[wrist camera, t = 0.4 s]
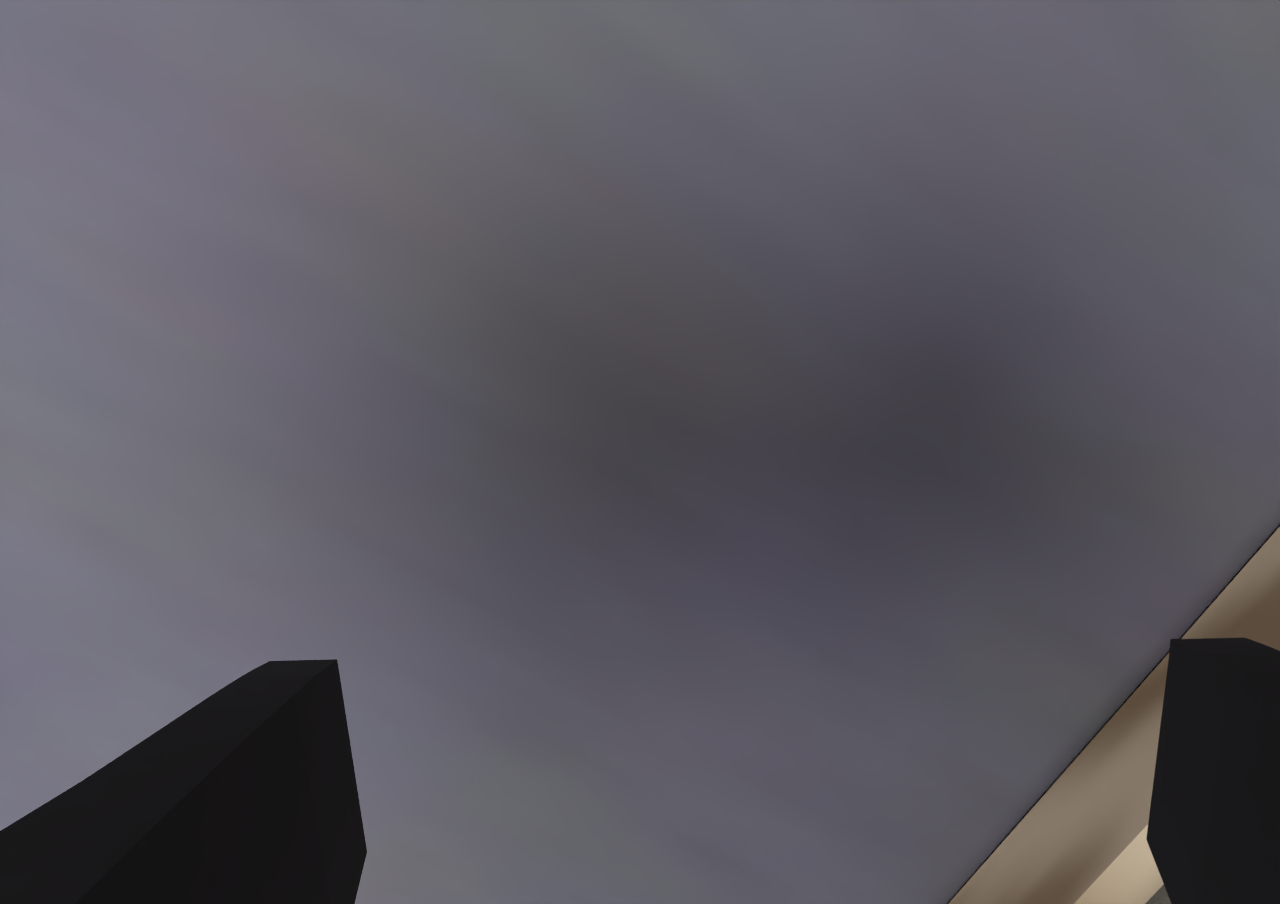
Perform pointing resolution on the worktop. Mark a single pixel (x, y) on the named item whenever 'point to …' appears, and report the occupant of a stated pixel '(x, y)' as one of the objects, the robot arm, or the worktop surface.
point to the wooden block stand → (1117, 780)
